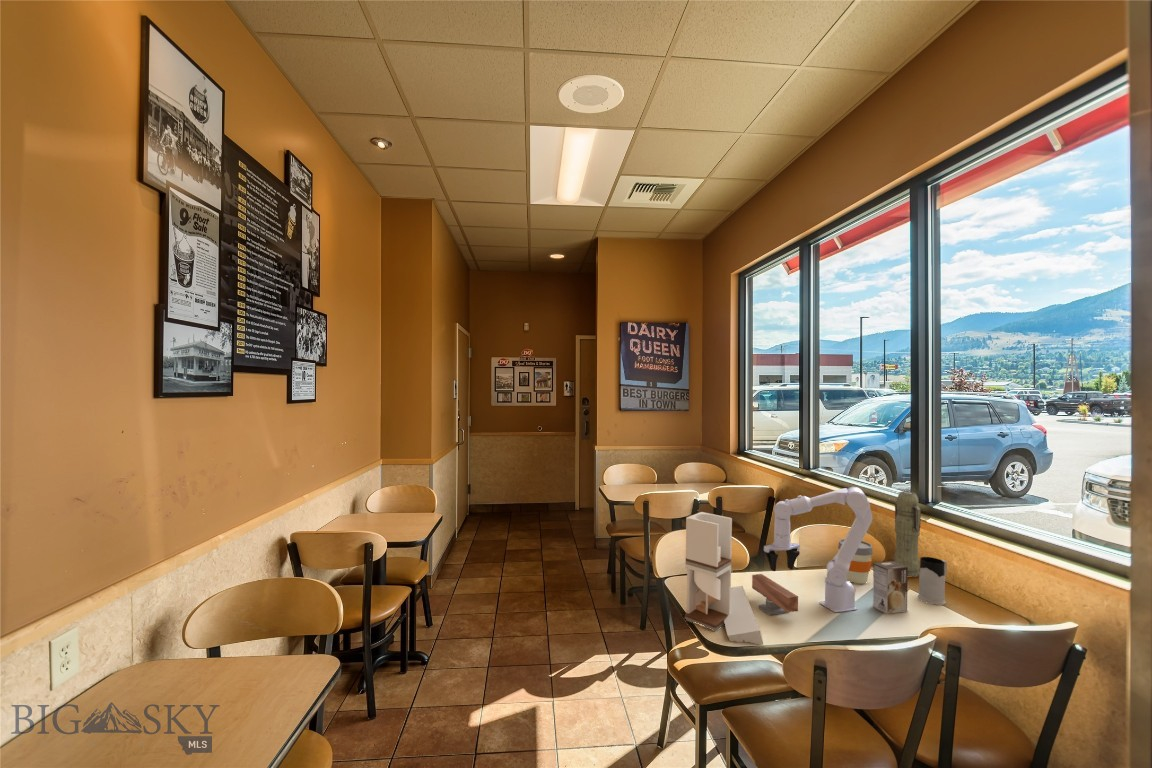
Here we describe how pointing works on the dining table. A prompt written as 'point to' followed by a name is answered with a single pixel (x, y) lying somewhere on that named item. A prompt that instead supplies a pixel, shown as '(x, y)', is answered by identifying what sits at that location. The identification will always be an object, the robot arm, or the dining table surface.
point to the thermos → (907, 531)
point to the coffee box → (890, 587)
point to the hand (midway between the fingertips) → (781, 569)
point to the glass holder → (932, 580)
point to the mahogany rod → (775, 593)
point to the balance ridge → (772, 608)
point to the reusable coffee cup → (859, 563)
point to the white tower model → (708, 569)
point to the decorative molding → (742, 619)
